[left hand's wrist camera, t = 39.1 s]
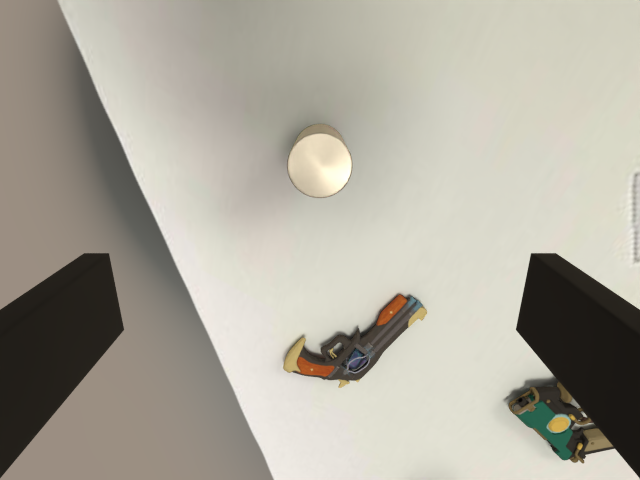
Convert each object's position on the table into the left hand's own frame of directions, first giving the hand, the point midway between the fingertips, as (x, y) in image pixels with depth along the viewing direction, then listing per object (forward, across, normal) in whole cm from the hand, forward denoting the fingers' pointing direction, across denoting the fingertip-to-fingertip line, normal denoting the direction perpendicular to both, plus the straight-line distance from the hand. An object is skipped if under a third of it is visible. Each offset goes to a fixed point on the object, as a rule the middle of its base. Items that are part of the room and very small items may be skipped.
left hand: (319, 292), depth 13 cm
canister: (+35, 0, 0) cm, 35 cm away
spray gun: (+35, +36, -38) cm, 63 cm away
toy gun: (+35, +4, -24) cm, 43 cm away
